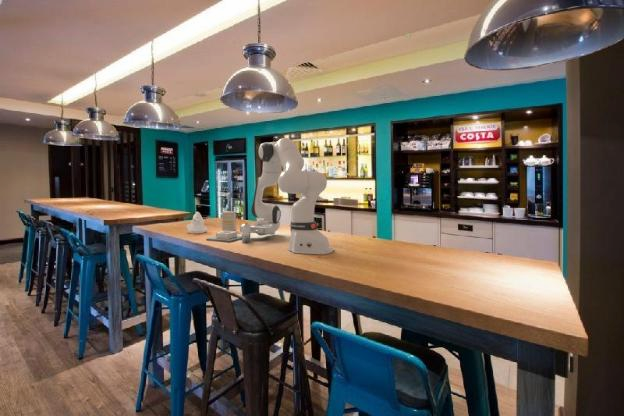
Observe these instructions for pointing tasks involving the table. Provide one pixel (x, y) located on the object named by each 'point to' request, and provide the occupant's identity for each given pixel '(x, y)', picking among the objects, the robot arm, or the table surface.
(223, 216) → the supplement box
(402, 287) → the table surface
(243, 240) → the battery cell
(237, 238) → the socket board
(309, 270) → the table surface
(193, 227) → the soft serve ice cream
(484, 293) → the table surface
